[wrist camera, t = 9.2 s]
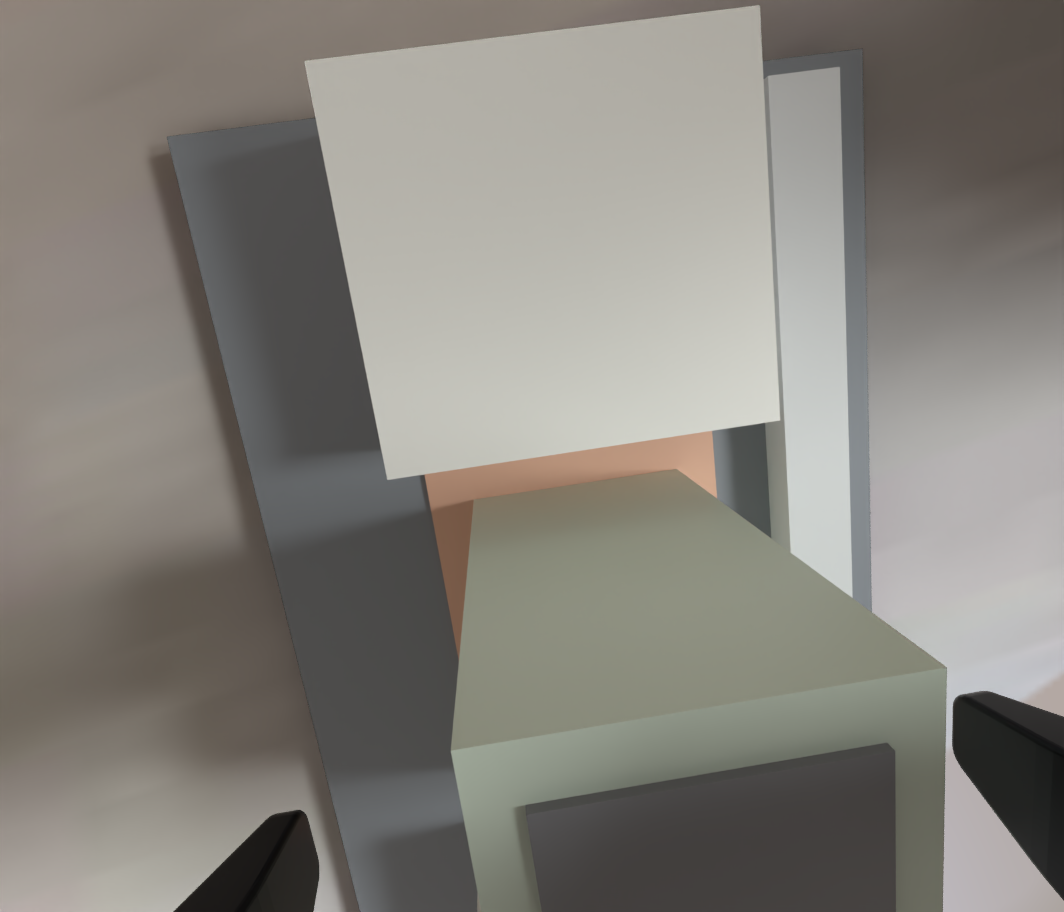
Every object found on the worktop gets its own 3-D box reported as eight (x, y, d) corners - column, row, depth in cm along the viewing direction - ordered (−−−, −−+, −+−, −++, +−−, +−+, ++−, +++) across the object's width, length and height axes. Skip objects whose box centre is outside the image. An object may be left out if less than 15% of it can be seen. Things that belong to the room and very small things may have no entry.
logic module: (676, 468, 12) (955, 674, 5) (699, 734, 13) (945, 1206, 6) (473, 499, 11) (450, 759, 4) (517, 765, 13) (550, 1287, 6)
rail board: (842, 63, 11) (976, -39, 8) (862, 927, 15) (954, 1074, 12) (184, 147, 10) (60, 72, 7) (396, 1014, 15) (372, 1191, 12)
